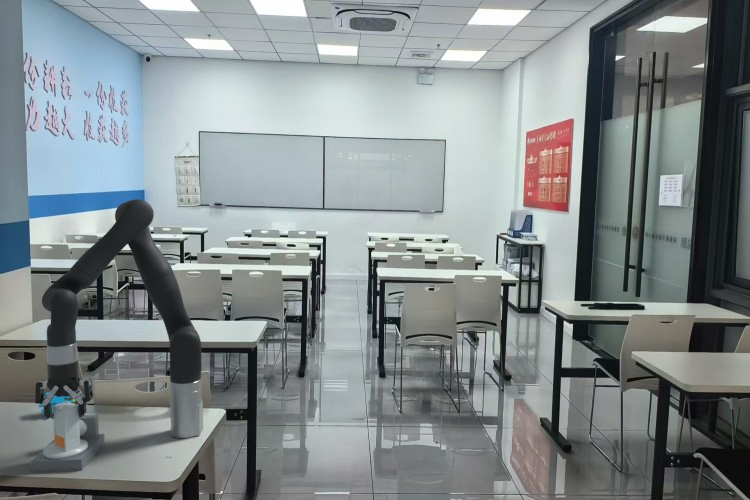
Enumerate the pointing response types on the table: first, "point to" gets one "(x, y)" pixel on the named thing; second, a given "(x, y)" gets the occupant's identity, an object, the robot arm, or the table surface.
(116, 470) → the table surface
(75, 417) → the skincare box
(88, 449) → the dial scale
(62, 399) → the gear
